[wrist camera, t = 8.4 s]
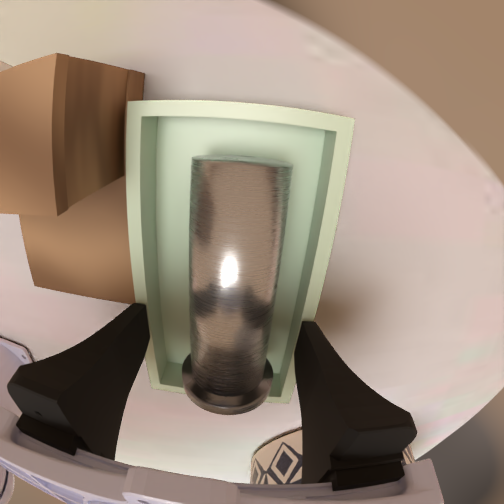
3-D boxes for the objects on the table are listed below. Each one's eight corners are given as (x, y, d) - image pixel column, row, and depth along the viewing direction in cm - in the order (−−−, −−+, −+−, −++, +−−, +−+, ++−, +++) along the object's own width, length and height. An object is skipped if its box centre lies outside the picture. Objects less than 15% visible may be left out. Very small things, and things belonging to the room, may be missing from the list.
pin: (263, 350, 17) (279, 412, 13) (184, 350, 16) (181, 414, 12) (289, 158, 13) (326, 175, 9) (183, 151, 12) (168, 165, 8)
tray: (286, 373, 18) (289, 403, 16) (161, 359, 18) (151, 388, 16) (337, 117, 12) (354, 118, 9) (150, 102, 12) (127, 101, 9)
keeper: (146, 288, 16) (98, 377, 10) (48, 272, 16) (-14, 337, 10) (144, 73, 11) (56, 53, 5) (31, 91, 11) (-62, 102, 5)
